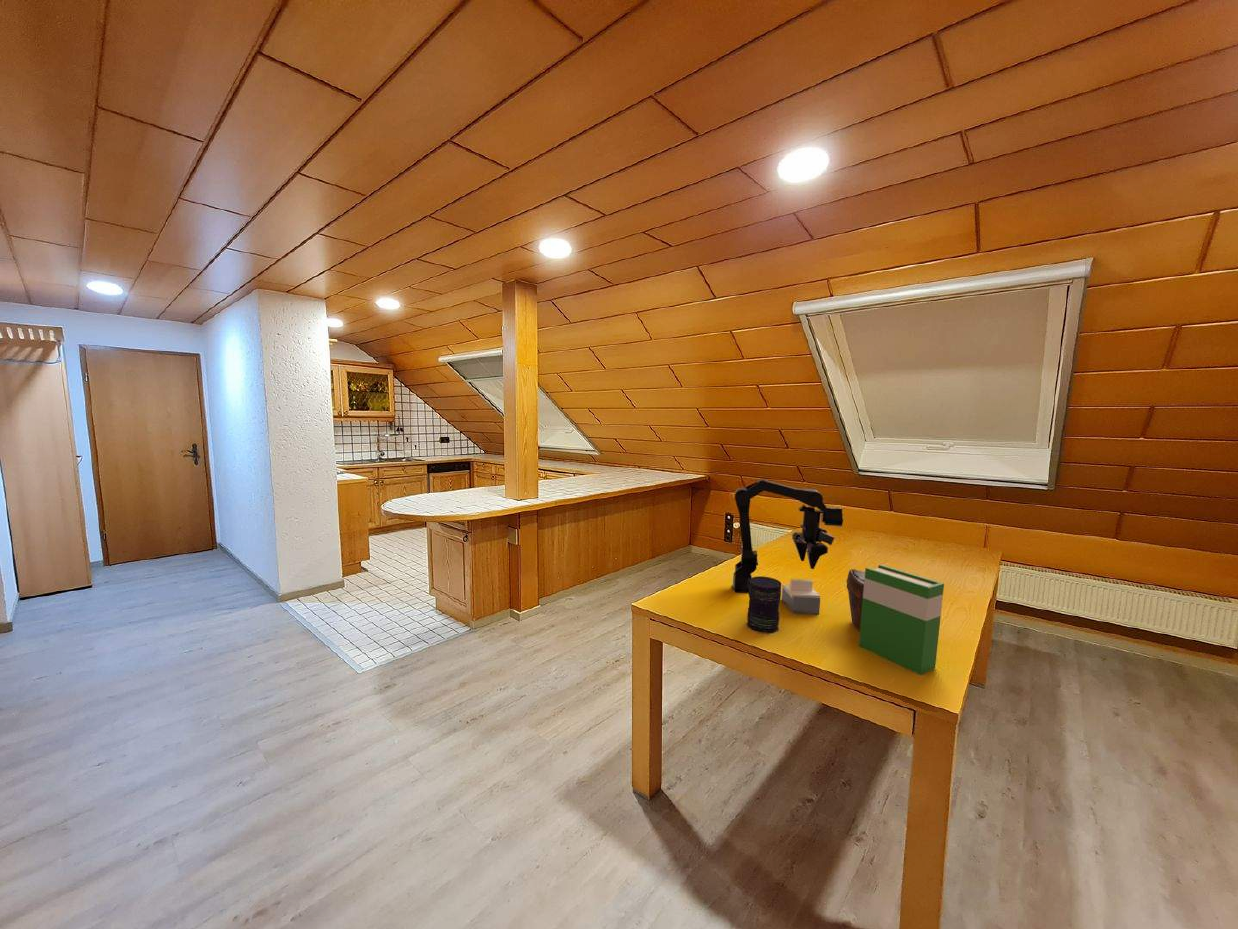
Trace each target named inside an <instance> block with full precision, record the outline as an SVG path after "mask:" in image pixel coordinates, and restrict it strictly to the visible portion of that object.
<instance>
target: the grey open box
mask: <svg viewBox="0 0 1238 929" xmlns="http://www.w3.org/2000/svg"><path fill="white" fill-rule="evenodd" d="M781 601H782V602H783V604H784V605H786V607H787V608H788V609H789V611H790V612H791V613H792V614H796V615H798V614H799V615H800V614H801V615H802V614H803V615H820V610H821V596H820V597H800V596H793V598H791V597H790V595H789V594H788V593H787V592H786V591H785V590H784V589H783V585H781Z"/></svg>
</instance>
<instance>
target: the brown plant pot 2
mask: <svg viewBox="0 0 1238 929" xmlns="http://www.w3.org/2000/svg"><path fill="white" fill-rule="evenodd" d="M864 580H865V571H862V570H858V569H855V568H851V569H849V571H848V573H847V578H846V589H847V592H848V593H847V594H848V600H849V601H848V602H849V610H850V616H851V617H850V618H851V623H852V625H853V626H854V627H855V628H857V629H858V630H860V625H861V614H862V602H863V591H864Z"/></svg>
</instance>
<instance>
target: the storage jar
mask: <svg viewBox="0 0 1238 929" xmlns="http://www.w3.org/2000/svg"><path fill="white" fill-rule="evenodd" d="M748 598H749V600H748V608H747V612H746V614H747V618H746V619H747V623H746V626H747V628H749V630H751V631H754V632H755V633H761V634H774V633H777V632H778V631H779V624H780V602H781V600H782V582H781V581H780V580H779V579H776V578H773V577H769V576H761V575H760V576H759V575H758V576H753V577H752V578H750V585H749V593H748Z"/></svg>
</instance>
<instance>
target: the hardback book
mask: <svg viewBox="0 0 1238 929" xmlns="http://www.w3.org/2000/svg"><path fill="white" fill-rule="evenodd" d="M864 570H865V571H864V572H865V580H864V591H863V602H862V614H861V625H860V629H859V637H858V638H859V639H858V647H859V648H861V649H863V650H865V651H867V652H870V653H872V654H874V655H877V656H878V657H879V658H880V657H881V658H883V659H885V660H887V661H889V662H891V663H893V664H896V665H898V666H899V667H902V668H905V669H906V670H909V671H910V672H913V673H916V675H919V676H922V675H924V674H926V673H928V672H931V671H932V670H935V669H936V663H937V653H938V644H939V636H940V626H941V618H942V617H941V615H942V609H943V608H942V607H943V601H944V600H943V599H944V588H945V583H943V582H940V581H937V580H934V579H932V578H931V579H930V578H926V577H924V576H920V575H917V574H914V573H910V572H907V571H906V572H905V571H903V570H900V569H896V568H893V567H889V566H886V565H883V564H878V567H877V568H874V569H872V568H870V567H865V569H864Z"/></svg>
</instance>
